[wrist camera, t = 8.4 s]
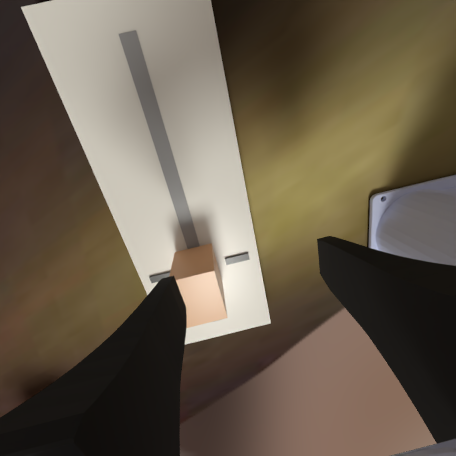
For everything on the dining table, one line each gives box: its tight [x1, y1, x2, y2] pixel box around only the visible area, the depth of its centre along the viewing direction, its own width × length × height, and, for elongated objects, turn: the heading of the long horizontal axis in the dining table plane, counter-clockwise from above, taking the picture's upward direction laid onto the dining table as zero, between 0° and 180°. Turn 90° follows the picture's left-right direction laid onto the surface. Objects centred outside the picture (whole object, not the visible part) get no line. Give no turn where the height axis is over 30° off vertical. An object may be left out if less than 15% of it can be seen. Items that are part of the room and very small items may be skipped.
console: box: [21, 0, 271, 344], centre depth 18 cm, size 10×26×2 cm, turn 12°
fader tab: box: [169, 243, 228, 328], centre depth 17 cm, size 3×4×4 cm
